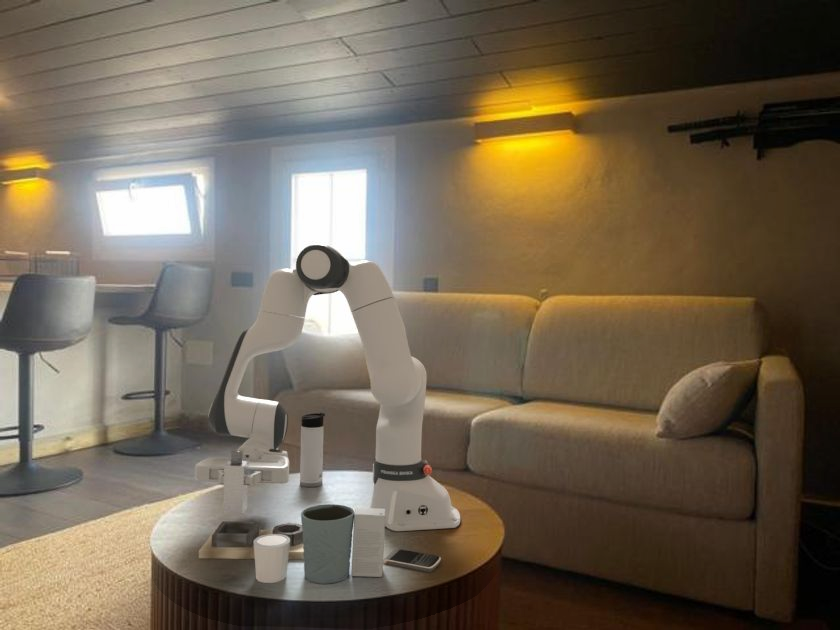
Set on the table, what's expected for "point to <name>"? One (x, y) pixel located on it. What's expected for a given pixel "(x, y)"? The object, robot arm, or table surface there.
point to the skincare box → (368, 542)
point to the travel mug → (311, 450)
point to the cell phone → (412, 560)
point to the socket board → (248, 540)
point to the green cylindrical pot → (327, 542)
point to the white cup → (271, 557)
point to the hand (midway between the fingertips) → (235, 481)
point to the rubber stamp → (235, 484)
